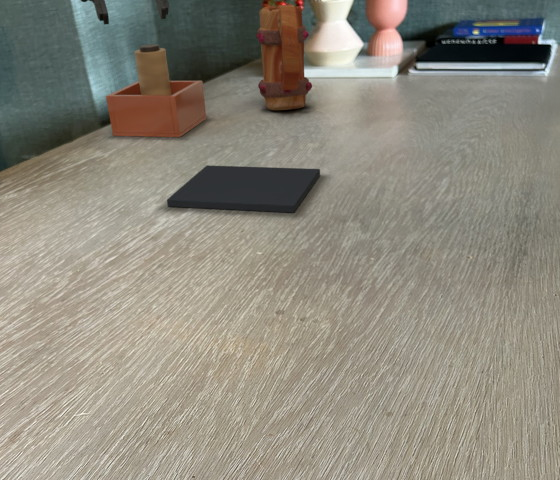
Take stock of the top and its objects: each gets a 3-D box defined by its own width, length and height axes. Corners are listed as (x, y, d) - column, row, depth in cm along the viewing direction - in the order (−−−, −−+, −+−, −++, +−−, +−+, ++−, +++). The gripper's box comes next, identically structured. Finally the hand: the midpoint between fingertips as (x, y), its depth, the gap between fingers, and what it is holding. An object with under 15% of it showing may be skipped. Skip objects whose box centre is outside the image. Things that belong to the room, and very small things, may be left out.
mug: (257, 103, 110) (250, -1, 102) (306, 99, 111) (303, -4, 102) (265, 125, 98) (258, 9, 90) (320, 121, 98) (318, 5, 90)
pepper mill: (140, 127, 99) (128, 48, 93) (153, 119, 103) (141, 43, 97) (168, 127, 98) (157, 48, 92) (179, 120, 102) (169, 43, 96)
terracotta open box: (113, 135, 98) (105, 96, 95) (144, 117, 106) (138, 80, 103) (180, 137, 95) (174, 96, 92) (206, 118, 103) (202, 80, 100)
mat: (167, 206, 72) (166, 199, 71) (207, 171, 81) (206, 165, 81) (294, 213, 68) (293, 205, 68) (320, 175, 78) (320, 168, 77)
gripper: (59, -93, 97) (84, 3, 94) (156, -99, 100) (184, -6, 98) (65, -50, 104) (88, 40, 101) (155, -57, 107) (181, 31, 105)
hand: (135, 17), depth 99 cm, fingers open, 8 cm apart
